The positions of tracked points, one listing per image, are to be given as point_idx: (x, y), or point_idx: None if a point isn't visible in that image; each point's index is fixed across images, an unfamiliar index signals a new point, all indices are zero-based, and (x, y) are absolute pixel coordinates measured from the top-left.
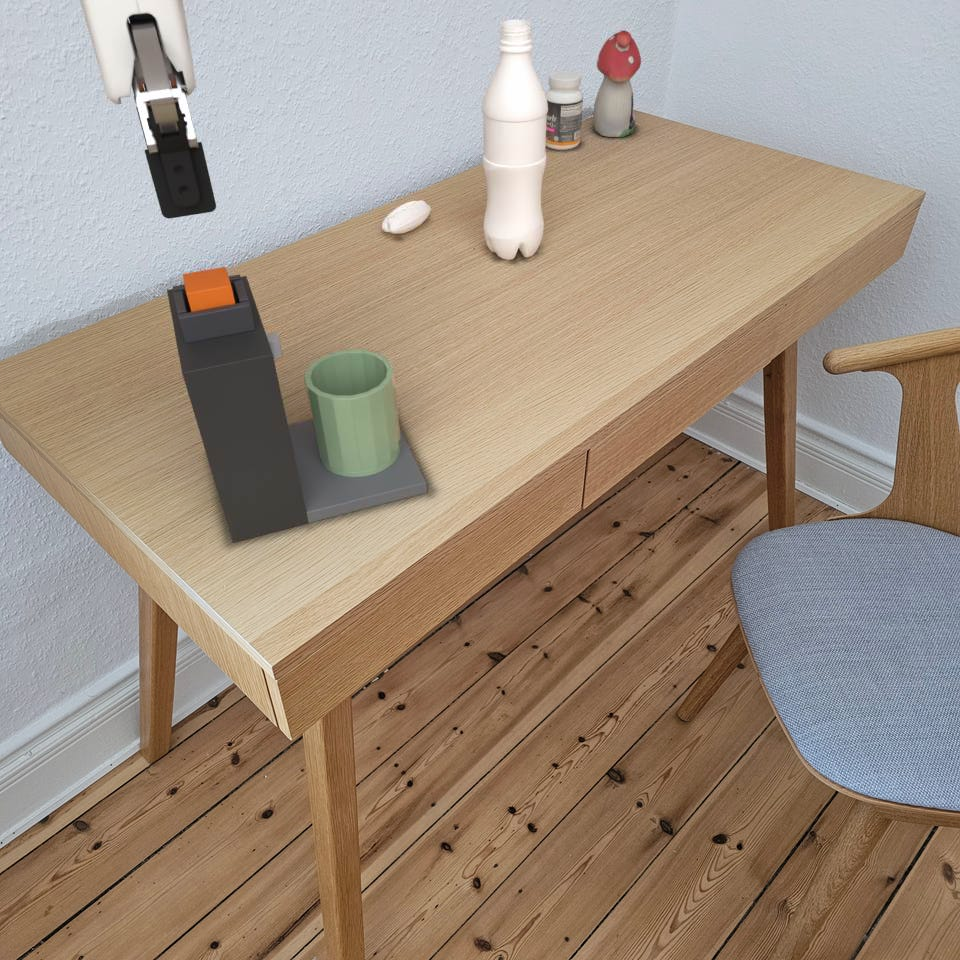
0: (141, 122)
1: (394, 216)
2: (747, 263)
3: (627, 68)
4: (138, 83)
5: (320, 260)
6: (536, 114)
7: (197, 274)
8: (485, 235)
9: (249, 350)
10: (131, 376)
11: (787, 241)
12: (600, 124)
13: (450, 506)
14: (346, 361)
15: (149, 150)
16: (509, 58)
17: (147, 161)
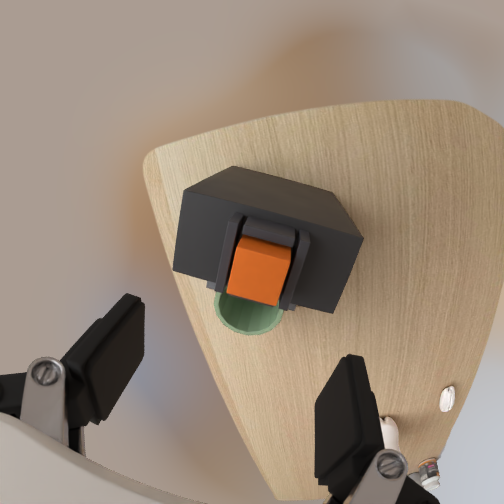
0: (24, 400)
1: (449, 396)
2: (281, 465)
3: None
4: (348, 500)
5: (465, 346)
6: None
7: (276, 275)
8: (389, 422)
9: (188, 257)
10: (452, 184)
11: (283, 476)
12: (415, 476)
13: (192, 286)
14: (276, 314)
15: (36, 360)
16: None
17: (75, 348)
